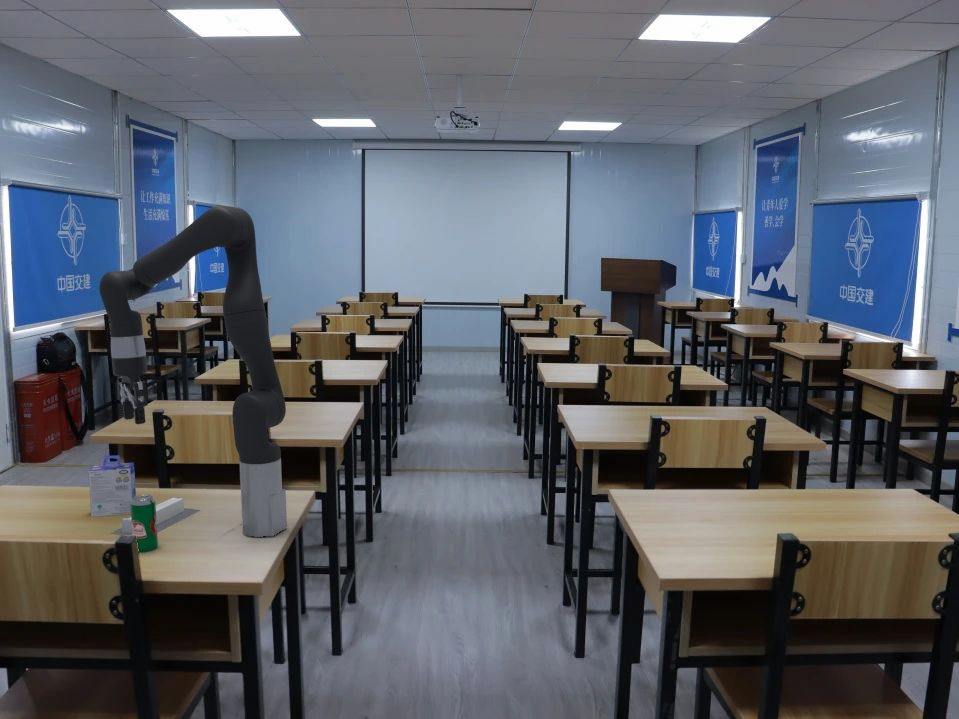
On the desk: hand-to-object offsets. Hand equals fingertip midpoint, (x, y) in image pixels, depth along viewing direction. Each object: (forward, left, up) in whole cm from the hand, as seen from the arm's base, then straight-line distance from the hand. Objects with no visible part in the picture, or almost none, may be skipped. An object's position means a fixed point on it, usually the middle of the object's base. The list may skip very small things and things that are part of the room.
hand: (134, 421), depth 192 cm
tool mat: (-7, +3, -24) cm, 25 cm away
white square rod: (-7, +3, -23) cm, 25 cm away
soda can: (-16, +18, -24) cm, 34 cm away
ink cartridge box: (+8, 0, -24) cm, 26 cm away
